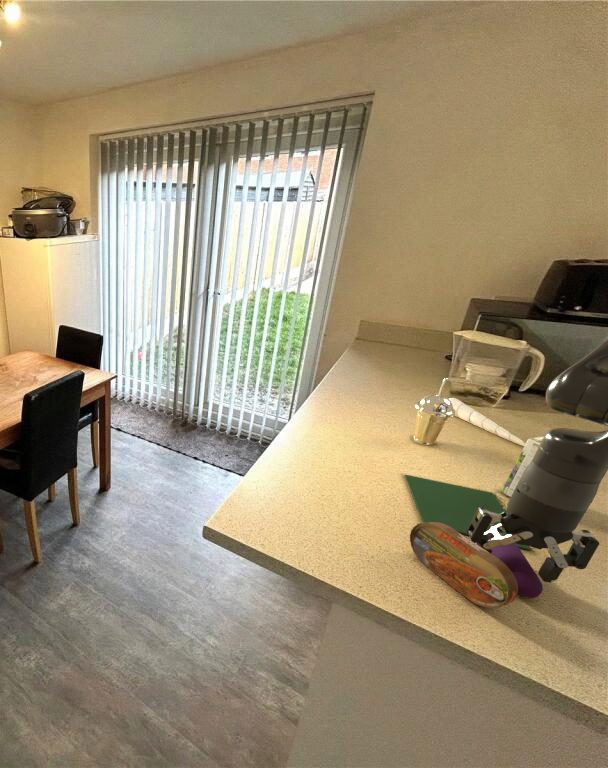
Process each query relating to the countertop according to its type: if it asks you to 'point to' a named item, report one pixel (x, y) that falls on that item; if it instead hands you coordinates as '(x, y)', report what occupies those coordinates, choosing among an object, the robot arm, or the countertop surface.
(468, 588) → the tin
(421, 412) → the cup with straw
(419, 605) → the countertop surface
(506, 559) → the eggplant
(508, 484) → the syrup box
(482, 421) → the unicorn horn
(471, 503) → the cloth
